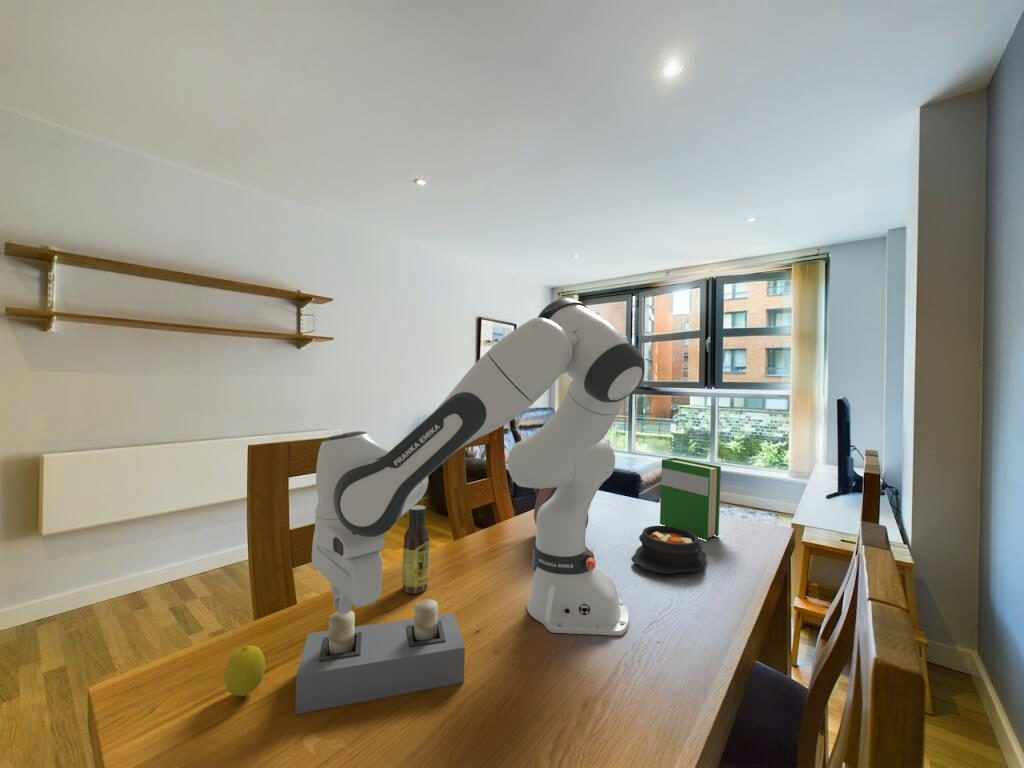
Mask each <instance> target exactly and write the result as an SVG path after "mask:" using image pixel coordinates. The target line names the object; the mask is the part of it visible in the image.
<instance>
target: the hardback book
mask: <svg viewBox="0 0 1024 768" xmlns="http://www.w3.org/2000/svg"><path fill="white" fill-rule="evenodd" d="M660 473H661V477H660V507H659V508H660V514H659V525H660V524H662V525H665V526H670V527H676V528H680V529H684V530H687V531H689V532H692V533H693V534H695V535H696V536H697V537H699V538H702V539H705V540H708V541H709V537H710V538H713V537H712V536H714V535H716V536H718V535H720V505H721V504H720V503H721V502H720V501H721V478H722V477H721V476H722V475H721V474H722V467H721V466H720V465H715V464H710V463H705V462H701V461H695V460H691V459H690V460H688V459H683V458H678V457H669V458H664V459H663V458H662V459H661V472H660Z"/></svg>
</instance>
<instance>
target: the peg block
mask: <svg viewBox="0 0 1024 768" xmlns="http://www.w3.org/2000/svg"><path fill="white" fill-rule="evenodd" d="M414 623H415V617H414V618H408V619H401V620H395V621H387V622H380V623H379V622H378V623H372V624H366V625H364V624H363V625H358V626H355V627H354V650H353V652H350V653H344V654H337V655H331V656H329V630H324V631H323V630H322V631H316V632H309V633H307V635H306V639H305V643H304V646H303V649H302V652H301V657H300V661H299V663H298V667H297V671H296V676H295V715H298V714H304V713H309V712H314V711H321V710H324V709H326V710H327V709H330V708H336V707H340V706H341V707H342V706H346V705H352V704H357V703H362V702H367V701H373V700H376V699H377V700H378V699H384V698H388V697H393V696H398V695H404V694H410V693H415V692H418V691H419V692H420V691H424V690H430V689H437V688H441V687H446V686H450V685H457V684H461V683H465V653H466V651H465V650H466V648H465V644H464V641H463V636H462V634H461V631H460V628H459V624H458V621H457V618H456V615H455V613H454V612H452V613H451V612H449V613H443V614H438V615H437V639H433V640H426V641H420V642H415V640H414Z"/></svg>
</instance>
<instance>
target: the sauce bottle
mask: <svg viewBox="0 0 1024 768" xmlns="http://www.w3.org/2000/svg"><path fill="white" fill-rule="evenodd" d="M426 513H427V508H426V506H424V505H421V504H418V505H416V504H415V505H414V506H413V507H411V508H410V509H409V510H408V514H409V522H408V524H409V526H408V527H407V529H406V531H405V533H404V536H403V547H402V548H403V549H402V571H401V573H402V576H401V580H402V581H401V583H402V591H403V592H404V593H405V594H410V595H411V594H412V595H416V594H419V593H423V592H424V591H426V590H427V588H428V583H429V571H430V570H429V568H430V564H429V563H430V539H431V538H430V537H429V534H428V530H427V526H426Z"/></svg>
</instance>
